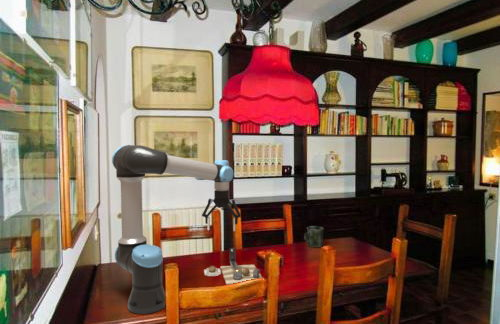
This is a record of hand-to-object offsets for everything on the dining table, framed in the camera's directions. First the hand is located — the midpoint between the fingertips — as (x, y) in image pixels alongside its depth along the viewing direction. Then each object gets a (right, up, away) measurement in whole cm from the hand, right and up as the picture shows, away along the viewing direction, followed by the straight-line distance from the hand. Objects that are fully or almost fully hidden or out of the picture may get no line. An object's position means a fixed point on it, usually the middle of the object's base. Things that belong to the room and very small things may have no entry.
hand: (221, 230), depth 182 cm
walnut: (+15, -18, -12) cm, 26 cm away
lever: (+8, -20, -8) cm, 22 cm away
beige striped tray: (+10, -21, -8) cm, 25 cm away
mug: (+56, -20, +47) cm, 76 cm away
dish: (-4, -21, -7) cm, 23 cm away
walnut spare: (-4, -20, -7) cm, 22 cm away
